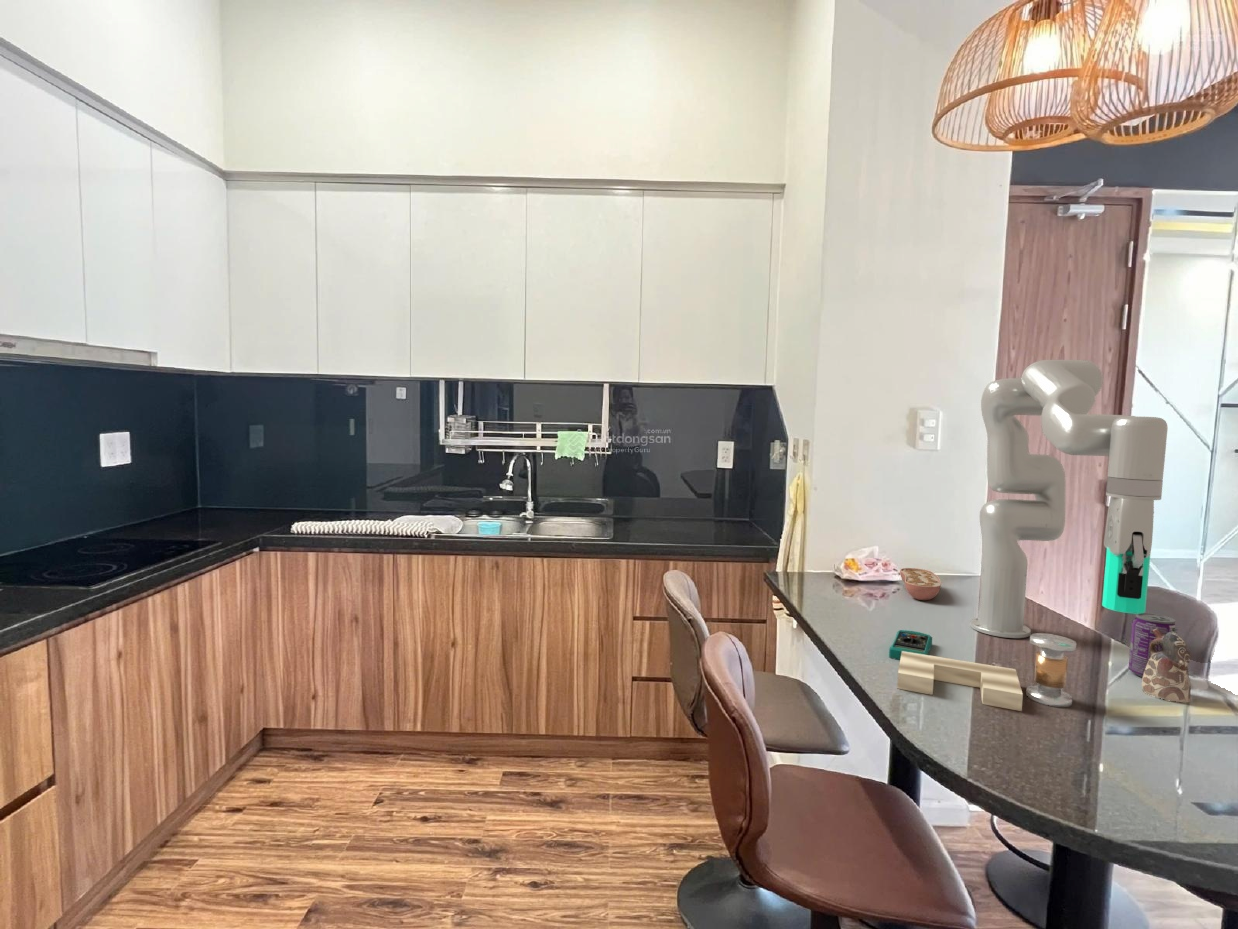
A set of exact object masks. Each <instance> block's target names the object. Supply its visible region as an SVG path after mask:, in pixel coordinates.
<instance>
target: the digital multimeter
mask: <svg viewBox="0 0 1238 929" xmlns="http://www.w3.org/2000/svg"><path fill="white" fill-rule="evenodd" d="M932 646H933V637H932V636H931V635H930V634H927V633H924V632H920V631H914V630H904V629H901V630H898V631H896V635H895V638H894V640H893V642H892V644H891V646H890V647H889V652H888V657H889V658H890V657H891V658H890V659H893V658H895V659H894V660H898V659H899V661H900V658H901V653H902V651H905V652H911V653H917V654H924V655H929V652H930V650H931V648H932Z"/></svg>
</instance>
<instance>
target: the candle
mask: <svg viewBox="0 0 1238 929" xmlns="http://www.w3.org/2000/svg"><path fill="white" fill-rule="evenodd" d="M1143 553H1146V552H1143ZM1146 554H1147V553H1146ZM1105 555H1106V556H1105V565H1104V566H1105V568H1104V576H1103V578H1104V579H1103V580H1104V581H1103V591H1102V602H1101V606H1102V607H1104V608H1105V609H1108V610H1111V611H1115V612H1120V613H1126V614H1134V615H1136V614H1140V613H1146V607H1147V606H1146V605H1147V594H1148V585H1149V572H1150V562H1151V555H1150V556H1149V557H1147V558H1144V562H1143V581H1142V592H1141V598H1140V599H1135V598H1126V597H1119V596H1118V595H1117V588H1118V576H1119V573H1121V562H1122V554H1121V553H1120V554H1119V556H1116V555H1114V554H1113V553H1111V552H1110V551H1109V548H1108V547H1107V548H1106V554H1105ZM1126 555H1129V556H1132V552H1126ZM1144 556H1145V555H1144ZM1129 560H1130V559H1127V562H1129ZM1130 561H1132V560H1130Z"/></svg>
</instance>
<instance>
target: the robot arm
mask: <svg viewBox="0 0 1238 929" xmlns="http://www.w3.org/2000/svg"><path fill="white" fill-rule="evenodd" d="M1103 375H1104V374H1103V373H1102V371H1101V369H1100V367H1099V366H1098V365H1097V364H1096V363H1094V362H1092V361H1091V360H1090V361H1089V360H1085V359H1042V360H1038V361H1035V362H1033V363H1031V364H1030V365H1028V366H1027V367H1026V368H1025V369H1024V370H1023V372H1022V375H1021V377H1012V378H1011V377H1010V378H1001V379H1000V378H999V379H996V380H994V381H991V382H990V383H988V384H987V385H986V386H985V387H984V390H983V392H982V395H981V400H980V408H981V410H980V411H981V416H982V419H983V424H984V428H985V430H986V436H987V448H986V450H987V451H986V453H987V457H986V458H987V459H986V464H987V465H986V468H987V469H986V471H987V472H986V477H987V483H988V487H989V488H990V489H991V490H992V491H993V492H996V493H1001V494H1014V495H1015V494H1016V495H1019V494H1020V495H1034V497H1035V500H1034V499H1015V498H1014V499H1011V498H1010V499H1009V498H1001V499H993V500H989V501H987V502H986V503H984V504H983V505H982V506H981V509H980V511H979V527H980V532H981V534H980V535H981V560H980V561H981V562H980V564H981V567H980V579H979V580H980V581H979V594H978V595H979V598H978V613H977V617H974V618H973V619H971V620H970V627H971V628H972V629H974V631H978V633H983V634H986V635H990V636H994V637H1000V638H1007V639H1025V638H1028V637H1030V635H1031V634H1032V629H1031V628H1030V627H1028V626H1026V625H1025V623H1024V619H1025V606H1026V605H1025V604H1026V590H1027V579H1028V578H1027V577H1028V576H1027V575H1028V566H1029V565H1028V557H1027V555H1026V553H1025V552H1024V550H1023V549H1022V547H1021V546H1020V545H1019V543H1018V542H1019V541H1036V542H1038V541H1039V542H1040V541H1041V542H1051V541H1055V540H1057V539H1060V537H1061V536H1062V535H1063V533H1064V531H1065V526H1066V474H1065V472H1066V471H1065V469H1064V466H1063V464H1062V462H1061V461H1060V460H1059V459H1058V458H1057V457H1055V456H1054V455H1050V454H1037V453H1036V454H1035V453H1030V451H1029V450H1030V449H1029V442H1030V441H1029V440H1030V438H1029V433H1028V430H1027V429H1026V428H1025V425H1024V424H1023V423H1022V422H1021V421H1020V420H1019V419H1018V418H1017V417H1016V416H1037V417H1038V416H1039V417H1040V424H1041V431H1042V433H1043V436H1044V437H1045V439H1047V440H1048V442H1049V443H1050V444H1051V445H1052V446H1053V447H1055V448H1056V449H1057V450H1058V451H1060V452H1062V453H1064V454H1066V455H1070V456H1085V457H1086V456H1087V457H1089V456H1091V457H1092V456H1097V457H1108V465H1107V466H1108V467H1107V478H1106V489H1105V496H1107V497H1110V499H1109V504H1108V508H1107V509H1108V510H1107V516H1106V523H1105V530H1104V537H1103V538H1104V539H1103V547H1105V549H1107V547H1108V548H1109V551H1110V552H1111V553H1113V554H1114V555H1116V556H1119V554H1120V553H1121V554H1122V562H1121V573H1119V576H1118V588H1117V595H1118V596H1119V597H1126V598H1135V599H1140V598H1141V592H1142V581H1143V562H1144V558H1147V557H1149V556H1150V557H1151V553H1152V552H1151V551H1152V545H1153V534H1154V517H1155V516H1154V514H1155V511H1154V510H1155V509H1154V508H1155V506H1154V505H1155V504H1154V503H1155V501H1161V500H1162V495H1163V494H1162V493H1163V483H1164V482H1163V480H1164V469H1165V461H1166V460H1165V459H1166V450H1167V449H1166V448H1167V437H1168V423H1167V421H1166V420H1165V419H1164V418H1161V417H1157V416H1136V415H1127V414H1100V413H1099V414H1095V413H1094V414H1093V413H1090V411H1091V410H1092V409H1093V407H1094V405H1095V402H1096V397H1097V396H1098V394H1099V393H1100V391H1101V389H1102V387H1103V384H1104V377H1103ZM1126 552H1132V556H1129V555H1126ZM1143 552H1146V553H1147V554H1146V553H1143ZM1144 555H1145V556H1144ZM1127 559H1130V560H1132V561H1130V560H1129V562H1127Z"/></svg>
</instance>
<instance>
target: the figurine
mask: <svg viewBox="0 0 1238 929" xmlns="http://www.w3.org/2000/svg"><path fill="white" fill-rule="evenodd" d="M1153 633H1154V634H1155V636H1156V639H1154V640H1153V641H1152V642H1151V643H1150V646H1149V648H1150V653H1151V657H1150V659H1149V661H1148V663H1147V666H1146V668H1145V671H1144V674H1143V678H1142V677H1141V678H1142V679H1141V688H1142V691H1144V692H1146V693H1147V694H1146V693H1145V694H1146V695H1148V694H1149V695H1148V696H1150V695H1153V696H1155V697H1157V698H1162V699H1165V700H1164V701H1166V700H1170V701H1169V702H1171V701H1176V702H1175V703H1179V702H1187V703H1190V701H1191V690H1192V688H1191V684H1190V676H1189V668H1188V665H1189V663H1191V659H1190V658H1191V657H1192V654H1191V653H1190V651H1189V650H1188V647H1187V644H1186V641H1185V640H1183V638H1182V637H1181V636H1180V635H1179V634H1176V633H1175V632H1168V633H1167V634H1166V635H1164V634H1163V633H1162V632H1161V631H1160V630H1159V629H1158V628H1157V629H1155V630H1153ZM1156 645H1160V646H1161V647H1162V651H1161V652H1158V651H1156V649H1155V646H1156ZM1144 692H1143V693H1144ZM1157 698H1156V699H1157Z"/></svg>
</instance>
